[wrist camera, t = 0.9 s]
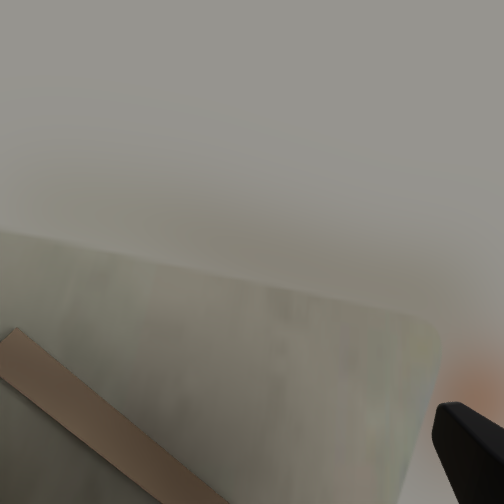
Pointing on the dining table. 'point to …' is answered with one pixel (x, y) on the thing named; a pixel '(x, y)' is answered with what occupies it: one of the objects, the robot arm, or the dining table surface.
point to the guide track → (98, 423)
